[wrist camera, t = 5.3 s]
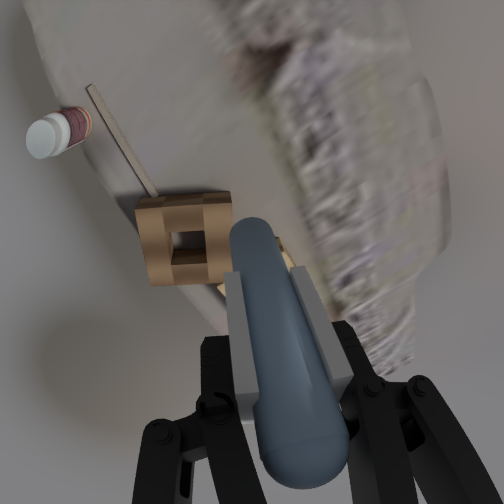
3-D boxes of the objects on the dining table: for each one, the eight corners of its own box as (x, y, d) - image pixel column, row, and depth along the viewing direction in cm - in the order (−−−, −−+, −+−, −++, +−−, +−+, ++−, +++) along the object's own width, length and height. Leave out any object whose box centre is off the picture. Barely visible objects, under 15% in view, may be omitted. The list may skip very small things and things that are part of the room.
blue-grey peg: (228, 218, 18) (269, 491, 5) (273, 216, 18) (376, 464, 5) (229, 257, 19) (264, 500, 7) (272, 254, 20) (345, 482, 7)
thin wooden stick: (88, 88, 23) (87, 88, 23) (94, 84, 23) (92, 84, 22) (153, 197, 32) (153, 199, 31) (159, 194, 32) (158, 196, 31)
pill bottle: (79, 98, 23) (41, 105, 16) (99, 126, 26) (66, 140, 19) (54, 125, 24) (16, 140, 17) (74, 151, 27) (39, 172, 20)
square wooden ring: (141, 197, 32) (134, 209, 29) (230, 191, 33) (231, 202, 30) (155, 270, 38) (151, 286, 35) (232, 266, 39) (234, 281, 36)
